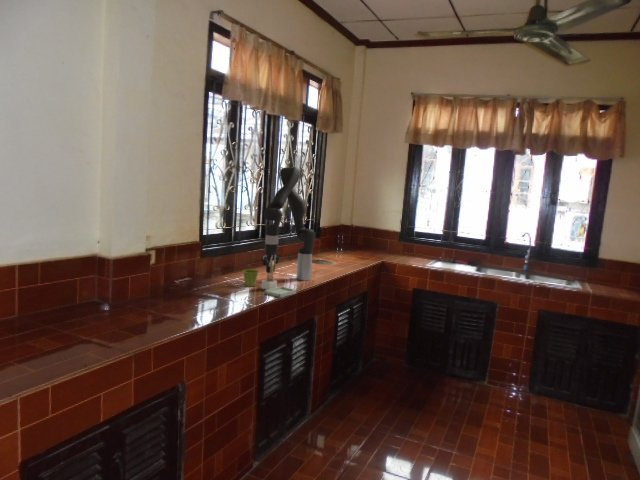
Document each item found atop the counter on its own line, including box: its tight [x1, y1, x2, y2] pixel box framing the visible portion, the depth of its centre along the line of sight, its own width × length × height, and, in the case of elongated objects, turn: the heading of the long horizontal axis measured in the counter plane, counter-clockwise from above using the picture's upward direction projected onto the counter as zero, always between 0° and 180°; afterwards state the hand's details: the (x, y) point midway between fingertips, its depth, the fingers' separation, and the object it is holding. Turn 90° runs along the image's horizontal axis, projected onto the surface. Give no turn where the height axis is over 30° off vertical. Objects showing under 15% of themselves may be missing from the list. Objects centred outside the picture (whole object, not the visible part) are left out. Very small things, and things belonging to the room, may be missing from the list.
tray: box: [264, 285, 298, 299], centre depth 262 cm, size 15×11×2 cm
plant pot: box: [242, 269, 259, 287], centre depth 276 cm, size 9×9×9 cm
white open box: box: [261, 278, 278, 291], centre depth 270 cm, size 6×6×5 cm
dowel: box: [266, 260, 274, 282], centre depth 270 cm, size 3×3×14 cm
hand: (270, 271), depth 270 cm, fingers closed on dowel, 3 cm apart
